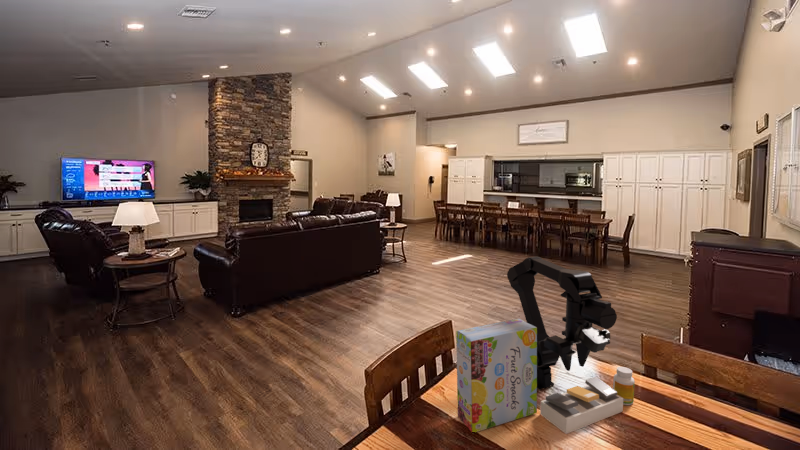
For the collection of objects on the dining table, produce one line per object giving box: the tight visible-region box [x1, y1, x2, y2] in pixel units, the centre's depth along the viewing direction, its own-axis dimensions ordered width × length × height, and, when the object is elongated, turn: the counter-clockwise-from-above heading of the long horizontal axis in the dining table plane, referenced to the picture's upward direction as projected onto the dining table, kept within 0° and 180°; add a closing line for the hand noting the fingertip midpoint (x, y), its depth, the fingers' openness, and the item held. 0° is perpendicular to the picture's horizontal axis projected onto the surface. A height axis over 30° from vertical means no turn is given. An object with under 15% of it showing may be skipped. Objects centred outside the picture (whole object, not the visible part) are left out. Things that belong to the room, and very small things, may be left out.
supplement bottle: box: [612, 366, 635, 406], centre depth 111 cm, size 5×5×10 cm
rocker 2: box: [584, 376, 617, 399], centre depth 108 cm, size 7×4×1 cm, turn 25°
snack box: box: [455, 318, 538, 433], centre depth 104 cm, size 22×9×26 cm, turn 111°
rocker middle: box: [566, 385, 599, 402], centre depth 105 cm, size 7×4×1 cm, turn 24°
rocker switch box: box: [539, 384, 624, 435], centre depth 105 cm, size 9×22×4 cm, turn 114°
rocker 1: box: [545, 392, 578, 410], centre depth 102 cm, size 7×4×1 cm, turn 24°
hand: (574, 368), depth 107 cm, fingers open, 5 cm apart
